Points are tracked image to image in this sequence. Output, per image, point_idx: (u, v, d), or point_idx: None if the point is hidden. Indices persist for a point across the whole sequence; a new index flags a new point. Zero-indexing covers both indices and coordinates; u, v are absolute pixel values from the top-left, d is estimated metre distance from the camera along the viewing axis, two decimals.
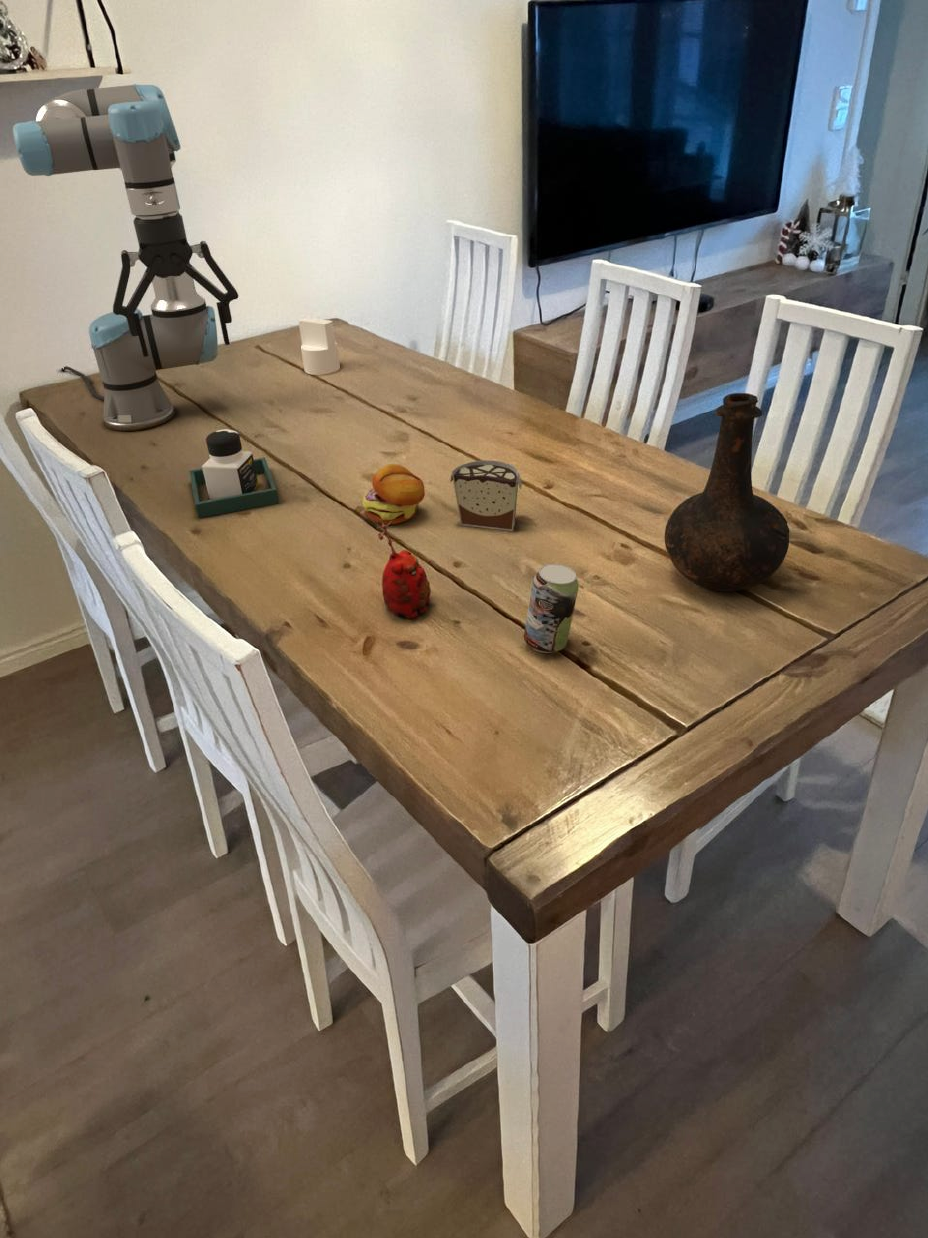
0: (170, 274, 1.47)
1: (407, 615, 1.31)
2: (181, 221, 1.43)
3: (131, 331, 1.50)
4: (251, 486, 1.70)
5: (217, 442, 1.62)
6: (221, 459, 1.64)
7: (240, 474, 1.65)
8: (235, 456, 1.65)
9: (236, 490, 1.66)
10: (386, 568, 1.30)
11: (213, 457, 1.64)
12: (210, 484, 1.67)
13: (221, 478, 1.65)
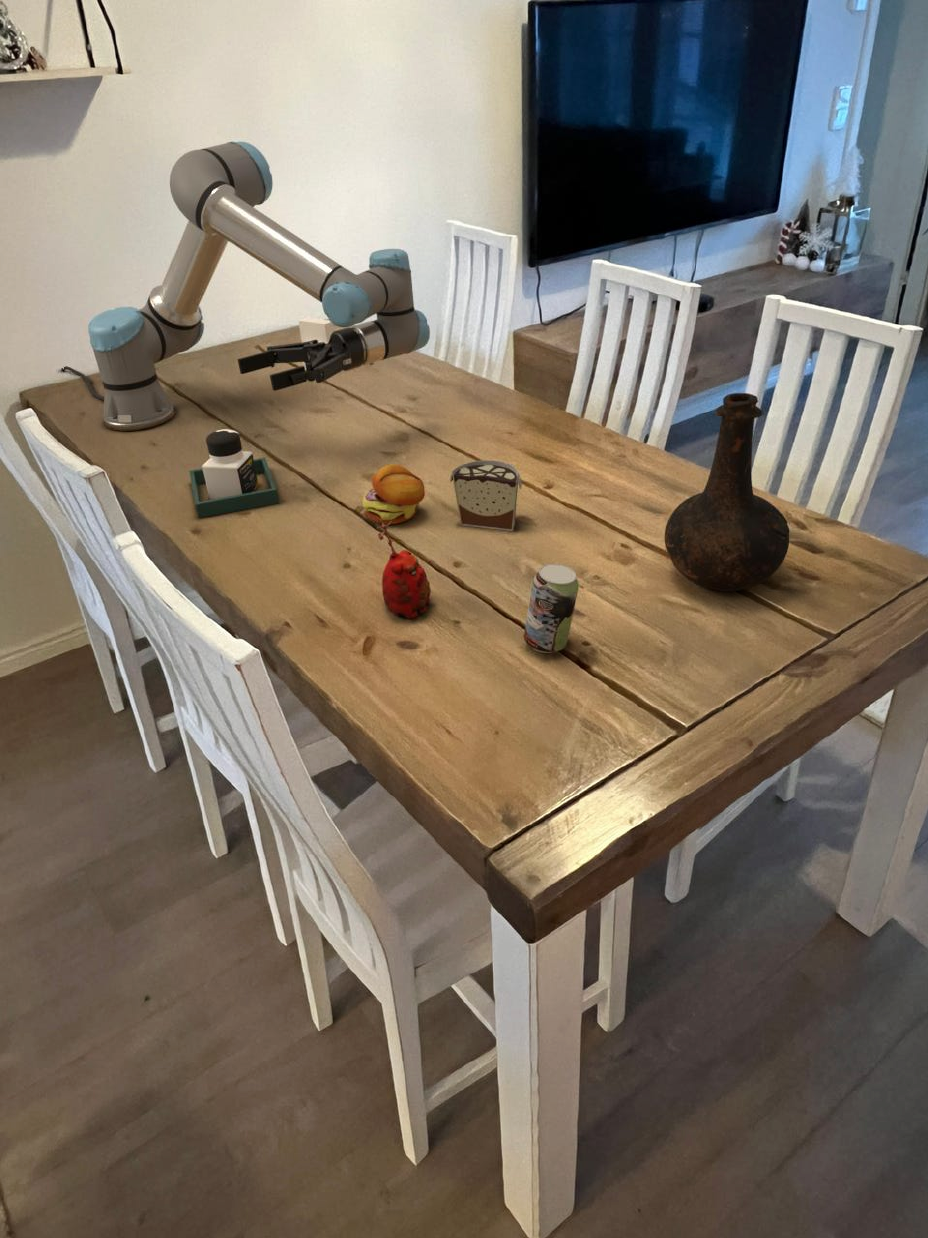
0: None
1: (407, 615, 1.31)
2: None
3: (297, 382, 1.60)
4: (251, 486, 1.70)
5: (217, 442, 1.62)
6: (221, 459, 1.64)
7: (240, 474, 1.65)
8: (235, 456, 1.65)
9: (236, 490, 1.66)
10: (386, 568, 1.30)
11: (213, 457, 1.64)
12: (210, 484, 1.67)
13: (221, 478, 1.65)
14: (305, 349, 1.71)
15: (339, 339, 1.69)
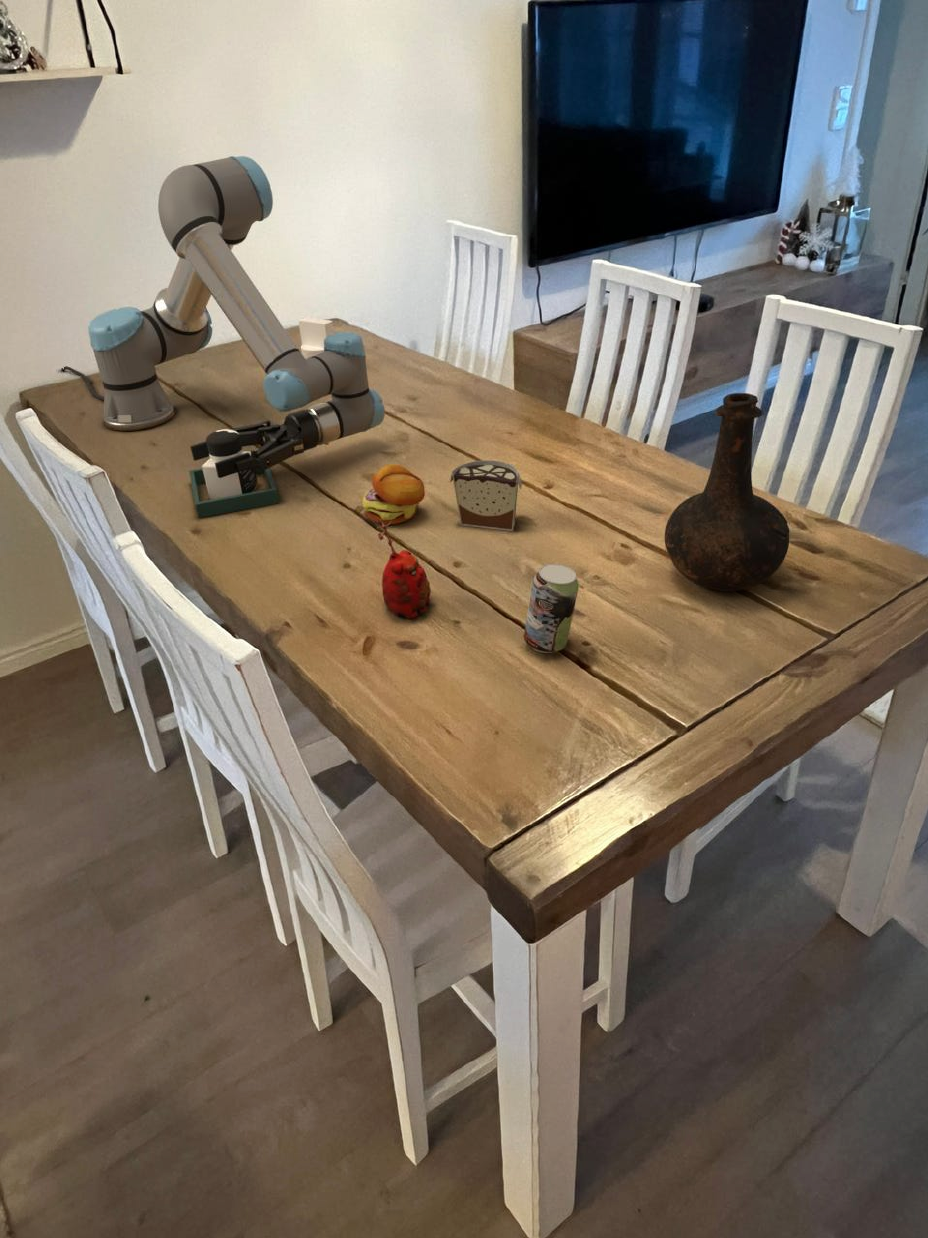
0: None
1: (407, 615, 1.31)
2: None
3: (242, 469, 1.62)
4: (251, 486, 1.70)
5: (217, 442, 1.62)
6: (221, 459, 1.64)
7: (240, 474, 1.65)
8: None
9: (236, 490, 1.66)
10: (386, 568, 1.30)
11: (213, 457, 1.64)
12: (210, 484, 1.67)
13: (221, 478, 1.65)
14: (260, 432, 1.72)
15: (294, 422, 1.71)
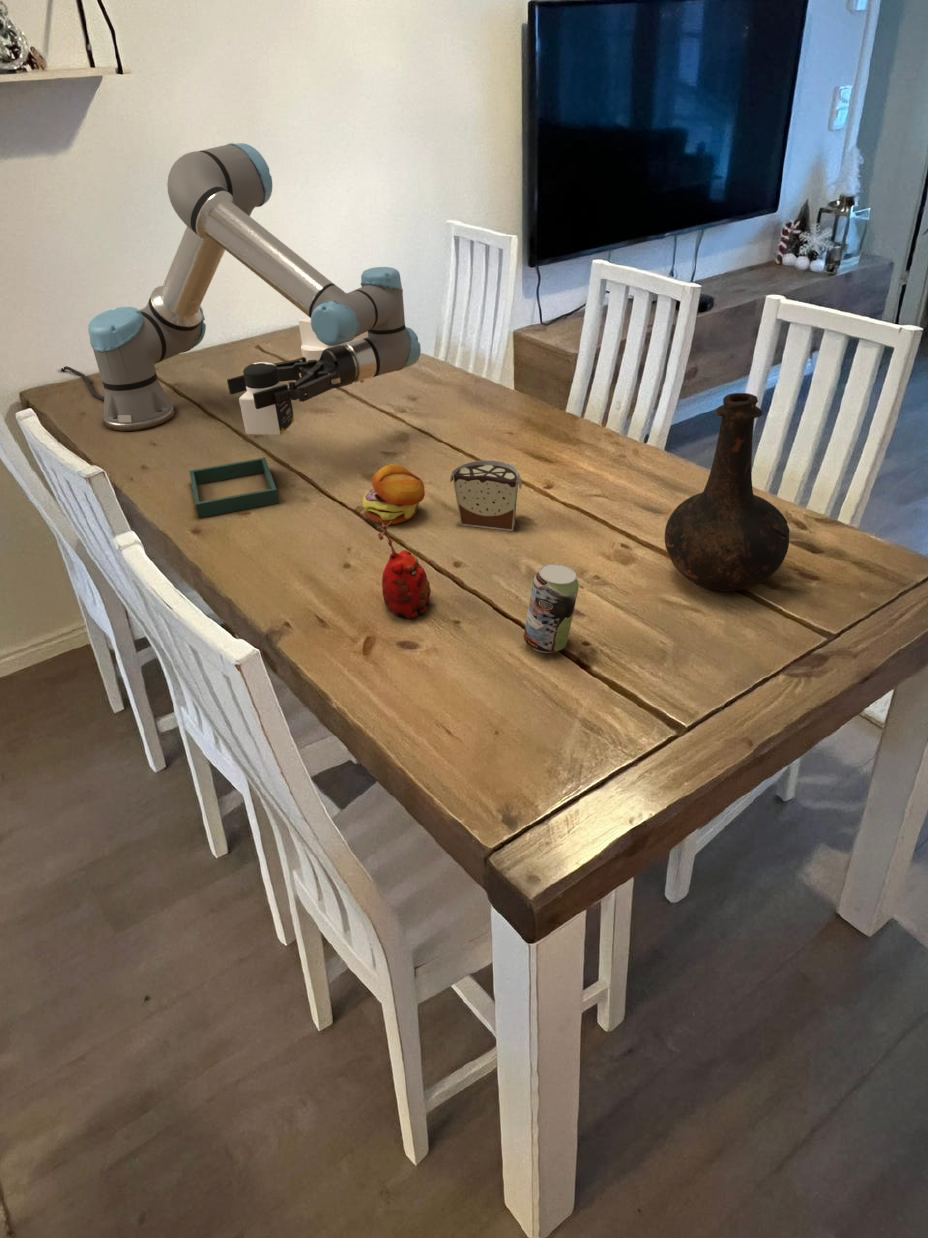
0: None
1: (407, 615, 1.31)
2: None
3: (280, 401, 1.61)
4: (288, 420, 1.68)
5: (255, 373, 1.61)
6: (258, 391, 1.62)
7: (277, 406, 1.63)
8: None
9: (273, 424, 1.65)
10: (386, 568, 1.30)
11: (250, 389, 1.63)
12: (247, 417, 1.65)
13: (258, 410, 1.64)
14: (296, 367, 1.70)
15: (331, 357, 1.70)
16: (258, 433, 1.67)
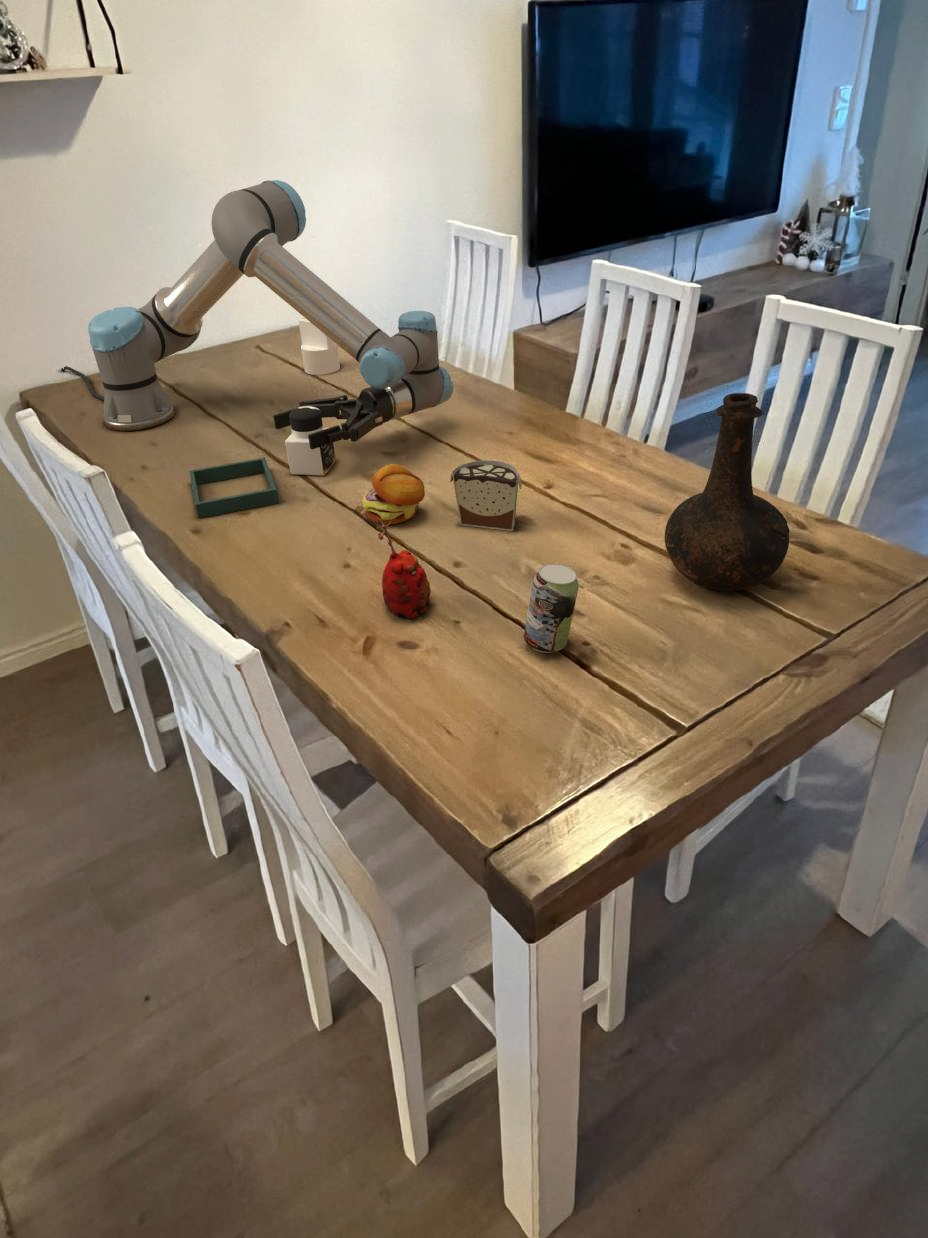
0: None
1: (407, 615, 1.31)
2: None
3: None
4: (330, 461, 1.77)
5: (301, 418, 1.70)
6: (303, 434, 1.71)
7: (321, 448, 1.72)
8: (317, 431, 1.72)
9: (317, 464, 1.74)
10: (386, 568, 1.30)
11: (296, 432, 1.72)
12: (292, 458, 1.74)
13: (303, 452, 1.73)
14: (336, 405, 1.79)
15: (370, 397, 1.78)
16: (302, 473, 1.76)
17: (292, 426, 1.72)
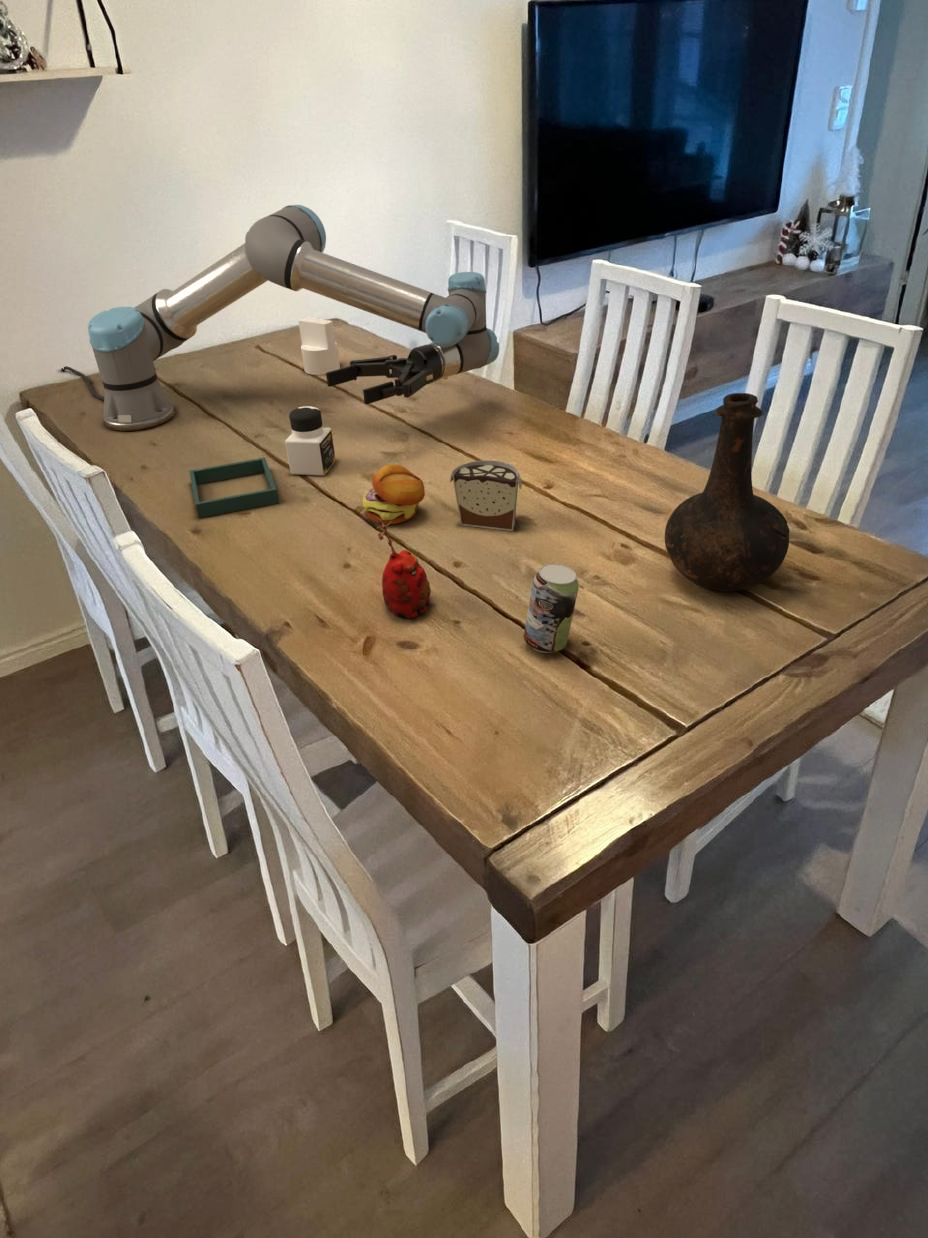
0: (398, 377, 1.83)
1: (407, 615, 1.31)
2: None
3: (387, 396, 1.73)
4: (330, 461, 1.77)
5: (301, 418, 1.70)
6: (303, 434, 1.71)
7: (321, 448, 1.72)
8: (317, 431, 1.72)
9: (317, 464, 1.74)
10: (386, 568, 1.30)
11: (296, 432, 1.72)
12: (292, 458, 1.74)
13: (303, 452, 1.73)
14: (387, 364, 1.83)
15: (420, 355, 1.82)
16: (302, 473, 1.76)
17: (292, 426, 1.72)
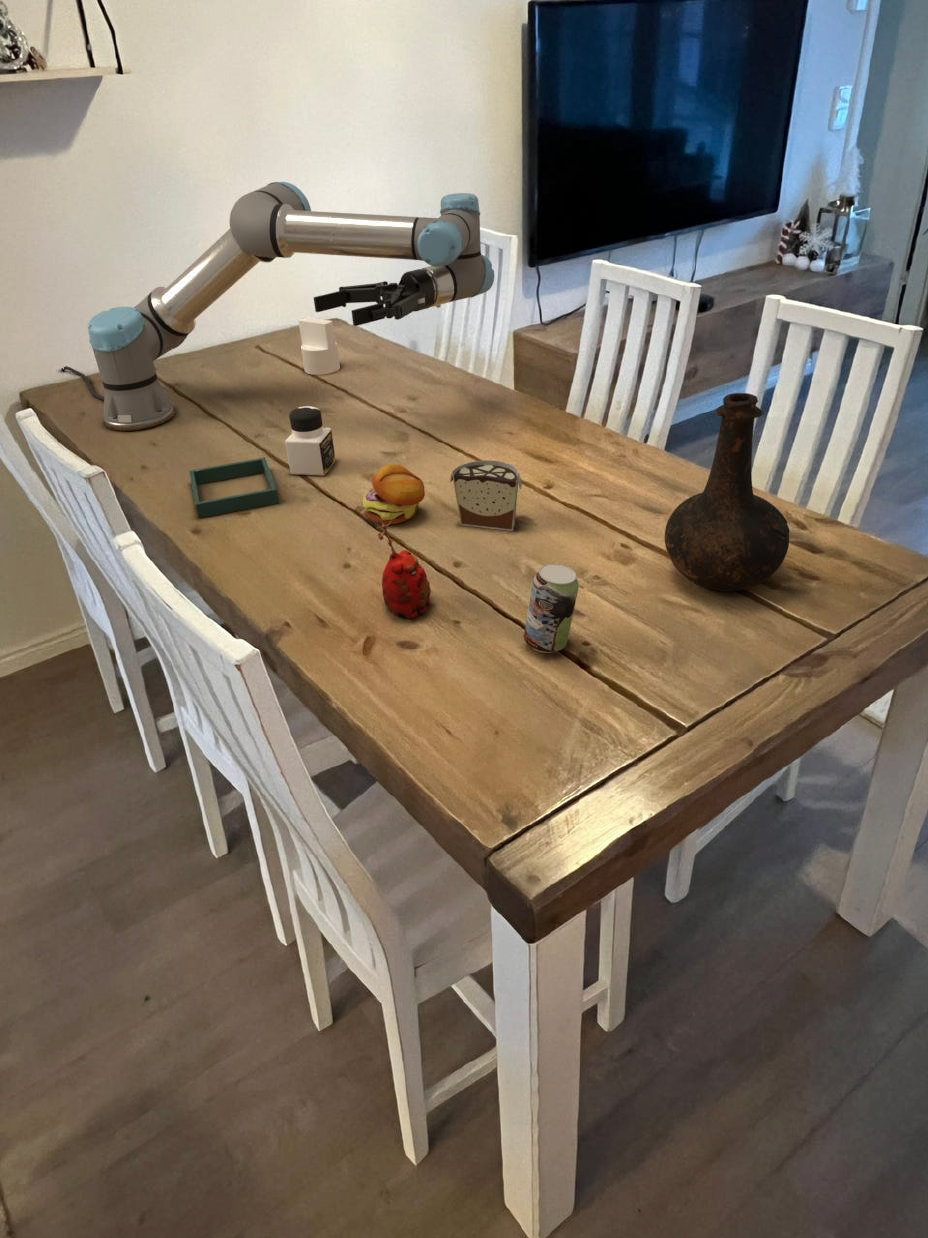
0: None
1: (407, 615, 1.31)
2: None
3: (377, 318, 1.66)
4: (330, 461, 1.77)
5: (301, 418, 1.70)
6: (303, 434, 1.71)
7: (321, 448, 1.72)
8: (317, 431, 1.72)
9: (317, 464, 1.74)
10: (386, 568, 1.30)
11: (296, 432, 1.72)
12: (292, 458, 1.74)
13: (303, 452, 1.73)
14: (377, 289, 1.76)
15: (412, 279, 1.75)
16: (302, 473, 1.76)
17: (292, 426, 1.72)
